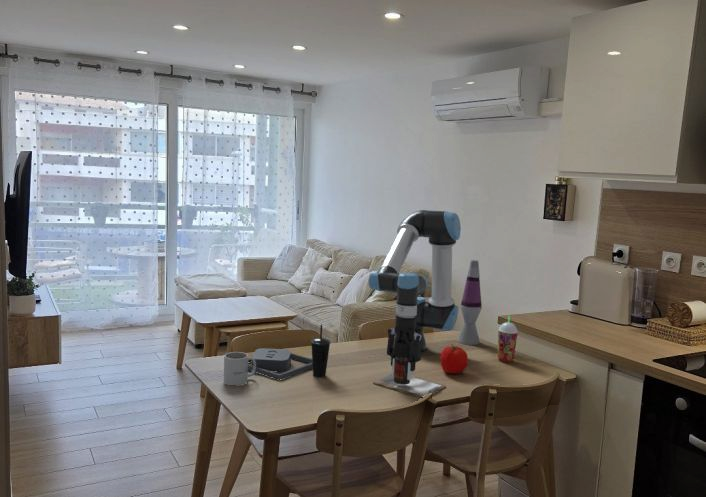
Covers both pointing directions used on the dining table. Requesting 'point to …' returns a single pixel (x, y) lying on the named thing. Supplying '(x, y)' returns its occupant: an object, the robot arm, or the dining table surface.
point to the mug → (237, 368)
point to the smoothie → (507, 341)
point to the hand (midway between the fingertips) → (402, 376)
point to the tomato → (453, 359)
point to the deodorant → (401, 363)
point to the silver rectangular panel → (410, 386)
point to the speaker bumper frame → (288, 373)
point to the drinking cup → (320, 355)
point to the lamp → (471, 306)
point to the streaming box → (272, 359)
